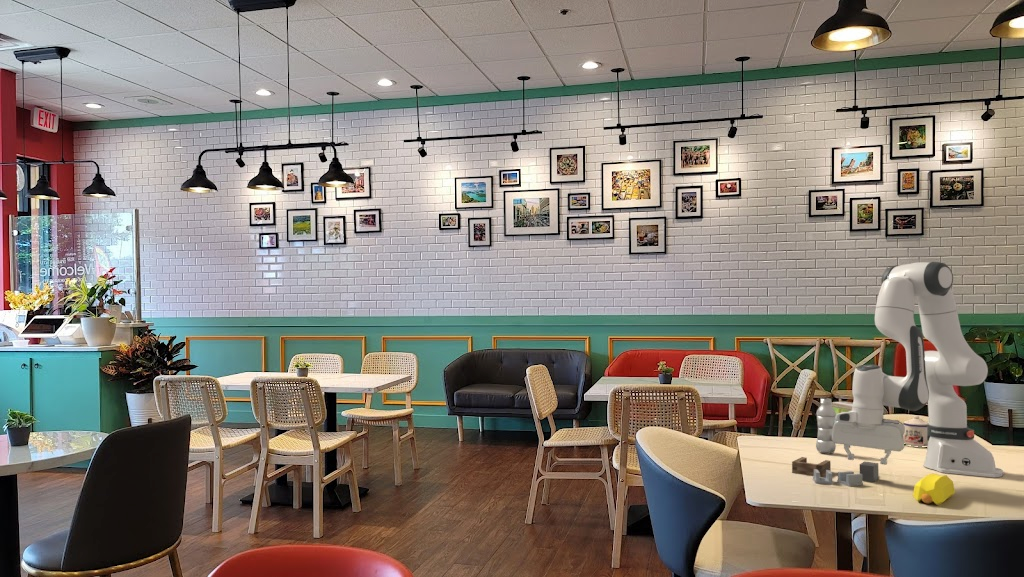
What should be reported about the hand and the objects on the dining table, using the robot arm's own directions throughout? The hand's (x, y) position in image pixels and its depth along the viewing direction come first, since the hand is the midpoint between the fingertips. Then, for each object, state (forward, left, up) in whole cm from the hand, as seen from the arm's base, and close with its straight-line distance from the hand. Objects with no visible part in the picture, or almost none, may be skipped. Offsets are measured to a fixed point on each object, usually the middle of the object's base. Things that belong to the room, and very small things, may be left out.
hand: (867, 461), depth 226 cm
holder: (+16, 0, -6) cm, 17 cm away
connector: (0, -3, -6) cm, 6 cm away
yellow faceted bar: (-20, +13, -6) cm, 25 cm away
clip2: (+9, +12, -6) cm, 17 cm away
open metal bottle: (+23, -37, -6) cm, 43 cm away
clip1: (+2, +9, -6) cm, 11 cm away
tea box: (+24, -75, -6) cm, 78 cm away
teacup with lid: (-1, -77, -6) cm, 77 cm away
